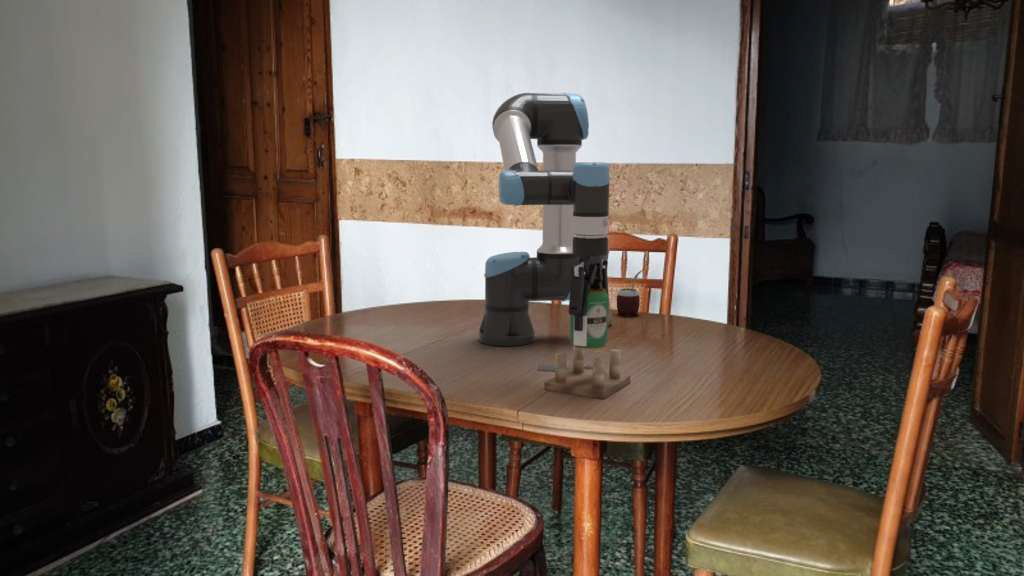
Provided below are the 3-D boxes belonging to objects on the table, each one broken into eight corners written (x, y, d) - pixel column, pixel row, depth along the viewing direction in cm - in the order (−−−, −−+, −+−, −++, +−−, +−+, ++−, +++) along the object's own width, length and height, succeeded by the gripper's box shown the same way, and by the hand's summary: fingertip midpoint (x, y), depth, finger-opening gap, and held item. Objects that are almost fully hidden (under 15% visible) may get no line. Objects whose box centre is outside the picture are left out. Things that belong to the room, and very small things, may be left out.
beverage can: (581, 350, 176) (581, 294, 174) (563, 342, 183) (564, 288, 181) (614, 346, 179) (615, 291, 177) (595, 339, 186) (596, 285, 184)
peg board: (544, 389, 180) (544, 355, 179) (572, 374, 192) (573, 342, 191) (604, 399, 173) (605, 363, 172) (630, 382, 185) (630, 349, 184)
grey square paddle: (536, 372, 195) (537, 367, 194) (540, 367, 199) (540, 362, 198) (599, 376, 191) (599, 371, 191) (601, 371, 195) (601, 366, 195)
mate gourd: (616, 313, 262) (617, 265, 259) (642, 313, 261) (643, 265, 258) (615, 317, 255) (617, 268, 252) (642, 318, 253) (643, 269, 251)
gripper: (585, 241, 167) (583, 353, 170) (625, 232, 184) (623, 334, 188) (552, 239, 170) (551, 349, 174) (594, 231, 188) (592, 330, 192)
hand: (588, 341), depth 181 cm, fingers closed on beverage can, 8 cm apart
